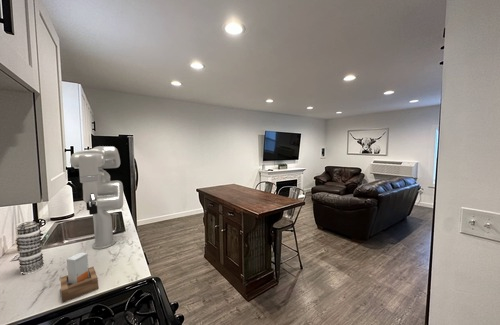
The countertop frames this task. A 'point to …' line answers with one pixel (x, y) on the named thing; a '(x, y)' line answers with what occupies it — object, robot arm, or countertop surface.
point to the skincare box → (77, 268)
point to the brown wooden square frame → (78, 286)
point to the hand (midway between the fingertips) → (92, 211)
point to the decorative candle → (29, 247)
